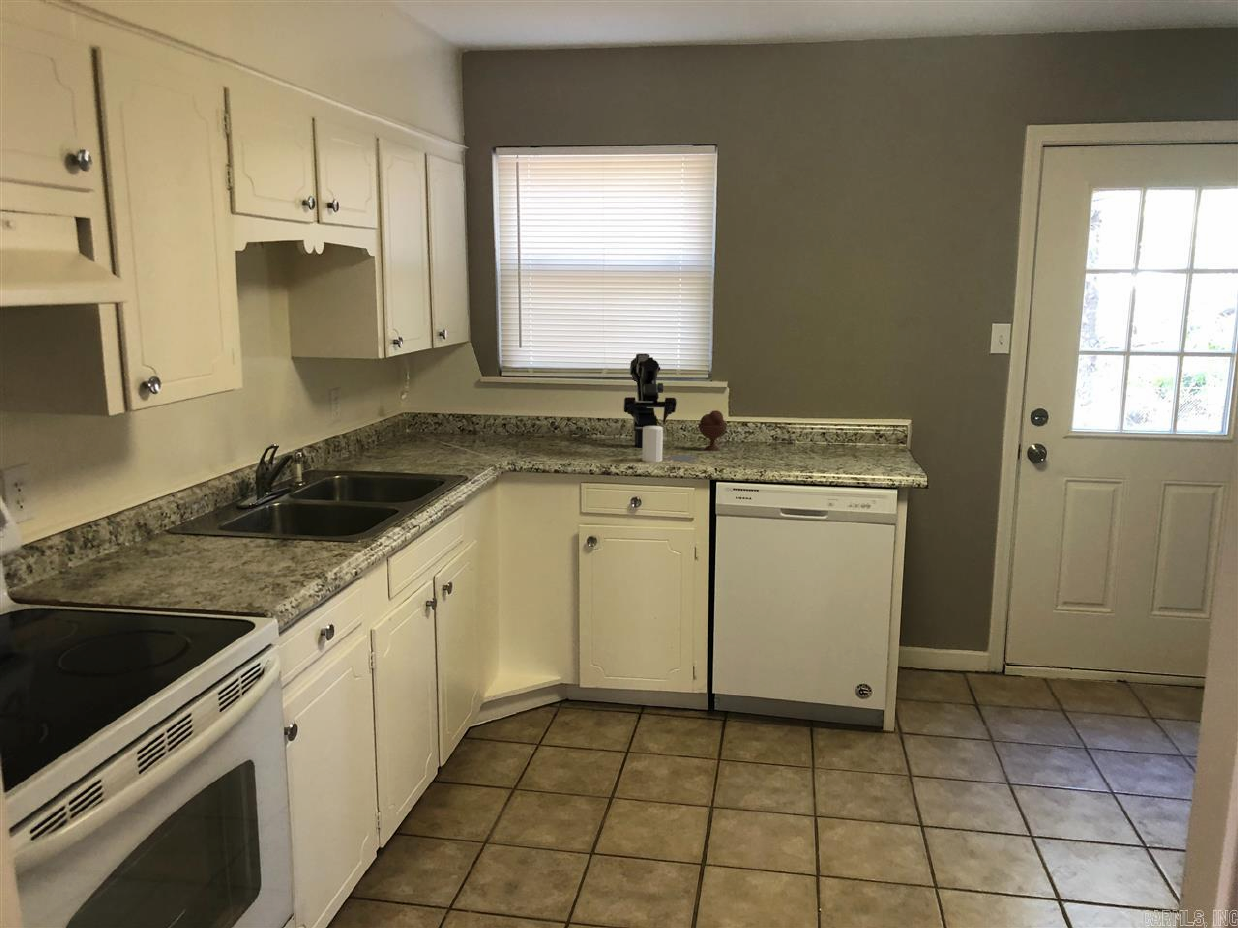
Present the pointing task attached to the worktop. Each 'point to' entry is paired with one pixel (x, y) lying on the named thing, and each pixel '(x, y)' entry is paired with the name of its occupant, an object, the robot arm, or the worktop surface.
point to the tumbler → (652, 443)
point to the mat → (682, 458)
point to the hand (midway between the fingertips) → (651, 423)
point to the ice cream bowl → (712, 428)
